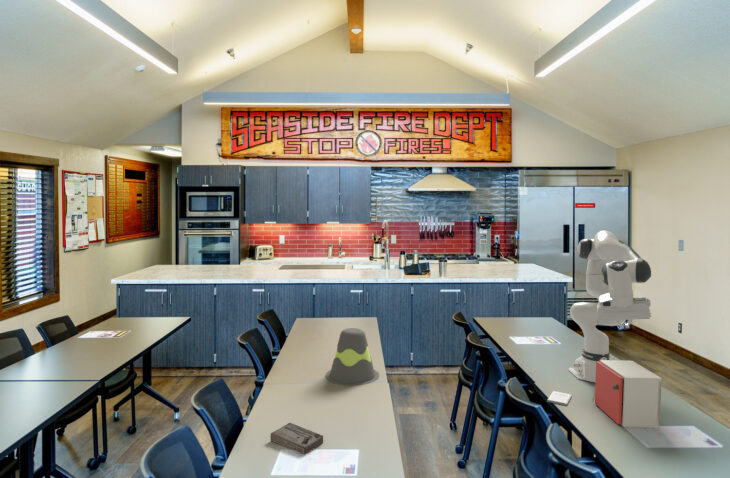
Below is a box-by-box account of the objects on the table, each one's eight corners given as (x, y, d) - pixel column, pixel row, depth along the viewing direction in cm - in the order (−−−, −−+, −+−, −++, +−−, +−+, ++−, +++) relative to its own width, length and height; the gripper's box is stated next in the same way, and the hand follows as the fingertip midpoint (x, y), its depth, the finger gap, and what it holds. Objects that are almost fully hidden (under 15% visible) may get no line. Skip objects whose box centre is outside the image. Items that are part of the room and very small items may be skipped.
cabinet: (598, 404, 209) (599, 360, 208) (630, 404, 208) (631, 360, 207) (623, 427, 187) (625, 377, 186) (659, 427, 186) (661, 378, 185)
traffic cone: (390, 378, 241) (390, 331, 239) (343, 389, 225) (343, 340, 223) (360, 363, 263) (360, 321, 262) (315, 373, 248) (315, 328, 246)
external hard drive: (547, 403, 212) (552, 393, 222) (566, 407, 207) (571, 397, 218) (547, 399, 211) (553, 390, 222) (566, 403, 207) (571, 394, 217)
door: (591, 403, 209) (592, 361, 208) (596, 403, 209) (598, 361, 208) (614, 424, 188) (616, 377, 187) (621, 424, 188) (622, 378, 187)
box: (289, 429, 183) (289, 421, 183) (324, 443, 173) (324, 435, 173) (269, 441, 174) (269, 433, 174) (304, 456, 164) (304, 447, 164)
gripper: (648, 294, 197) (651, 323, 200) (594, 296, 206) (598, 324, 209) (651, 300, 191) (653, 330, 195) (595, 303, 200) (599, 332, 204)
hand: (624, 327), depth 202 cm, fingers closed
